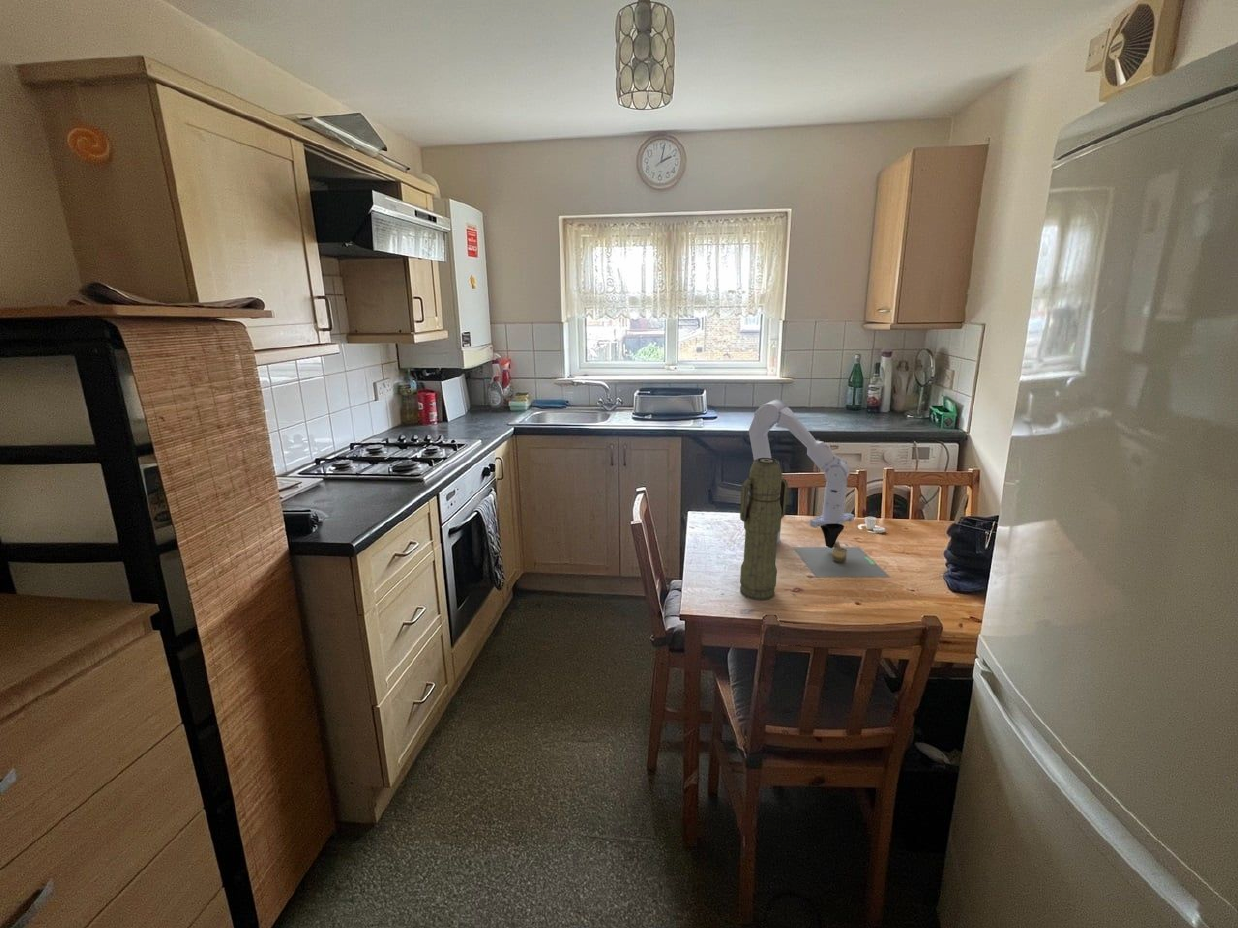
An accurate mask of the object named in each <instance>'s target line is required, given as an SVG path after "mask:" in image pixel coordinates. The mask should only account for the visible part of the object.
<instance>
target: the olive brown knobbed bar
mask: <svg viewBox="0 0 1238 928" xmlns="http://www.w3.org/2000/svg"><path fill="white" fill-rule="evenodd" d="M841 547H842V546H841V544H840V541H839V540H838V539H836V542H835V544H834V546H833V555H832V559H833V560H834V561H836V562H845V561H846V554H847V550H846V549H844V548H841Z"/></svg>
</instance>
